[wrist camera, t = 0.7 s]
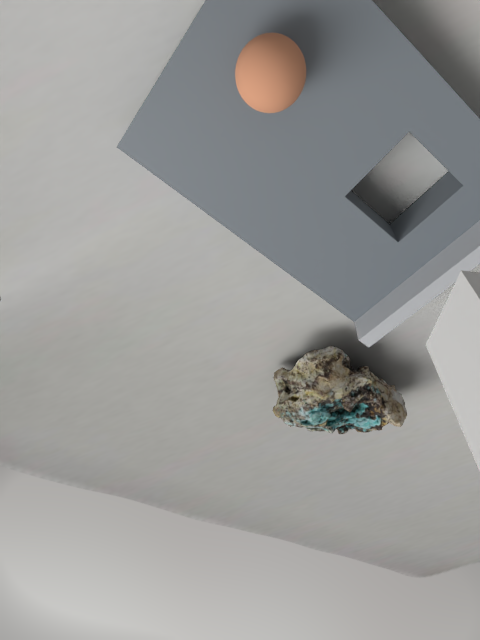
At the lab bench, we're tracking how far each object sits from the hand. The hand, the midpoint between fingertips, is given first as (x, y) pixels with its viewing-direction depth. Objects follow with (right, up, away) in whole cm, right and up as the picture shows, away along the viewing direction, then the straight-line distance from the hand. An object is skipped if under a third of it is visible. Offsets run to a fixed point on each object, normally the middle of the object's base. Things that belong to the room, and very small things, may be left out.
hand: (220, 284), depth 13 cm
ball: (+2, +13, +13) cm, 18 cm away
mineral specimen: (+11, -7, +34) cm, 36 cm away
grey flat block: (+7, +11, +20) cm, 24 cm away
